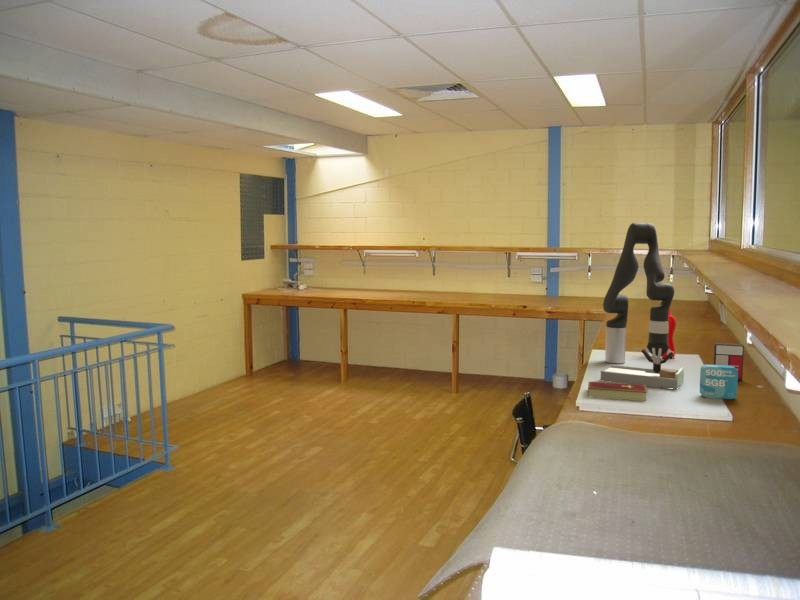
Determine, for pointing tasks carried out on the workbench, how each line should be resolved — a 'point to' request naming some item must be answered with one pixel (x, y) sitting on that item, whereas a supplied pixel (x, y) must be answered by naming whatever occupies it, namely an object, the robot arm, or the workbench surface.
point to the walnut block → (668, 373)
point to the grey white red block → (729, 356)
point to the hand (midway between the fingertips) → (656, 372)
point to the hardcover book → (617, 390)
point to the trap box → (641, 376)
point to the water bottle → (670, 334)
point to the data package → (718, 381)
